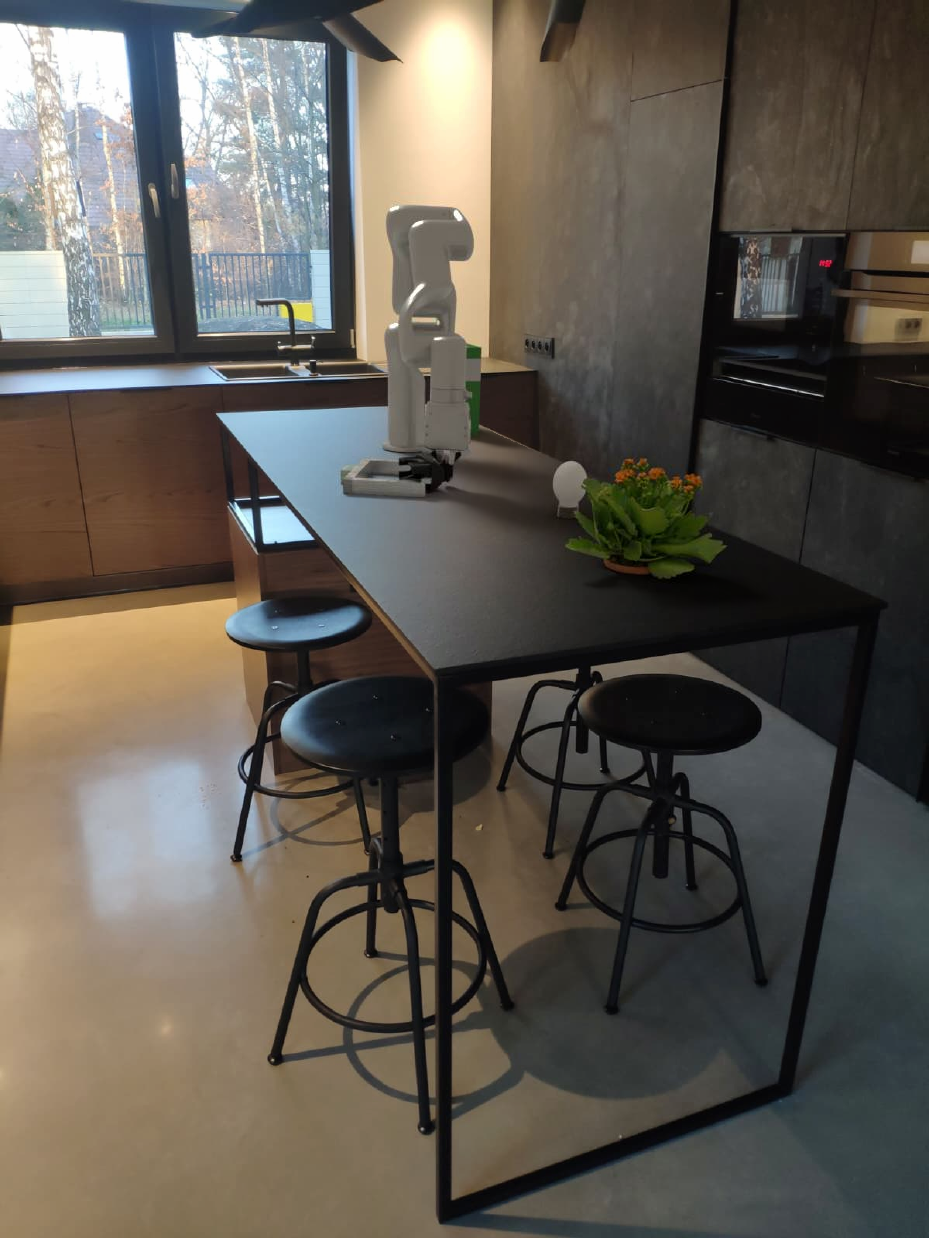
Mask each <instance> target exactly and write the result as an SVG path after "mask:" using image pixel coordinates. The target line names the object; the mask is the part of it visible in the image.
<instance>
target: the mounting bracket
mask: <svg viewBox="0 0 929 1238" xmlns="http://www.w3.org/2000/svg"><path fill="white" fill-rule="evenodd" d="M433 461H434V462H436V463H438V461H437V460H436V459H435V458H433ZM438 464H439V463H438ZM410 469H411V466H409V465H402V466H399V459H391V458H388V459H387V458H370V457H369V458H367V457H365V458H362V459H361V460H360V461H359V462H357V464H356V465H350V464H349V465H348V464H347V465H344V466H343V467H342V468H341V469H340V484H341V485H342V493H343V494H351V495H353V494H355V495H372V496H374V495H375V496H391V497H409V498H410V497H413V498H425V497H426V496H427V493H426V483H427V484H431V482H432V478H426V477H422V479H421V481H411V480H399V479H388V478H387V479H386V478H370V477H369V476H370V474H379V475H380V474H381V475H398V476H399V471H408V470H410ZM368 477H369V478H368Z"/></svg>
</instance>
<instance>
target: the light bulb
mask: <svg viewBox="0 0 929 1238" xmlns="http://www.w3.org/2000/svg"><path fill="white" fill-rule="evenodd" d="M586 478H588V476H587V473H586V470H585V469H584V467H583V466H582V465H581V464H580V463H579V462H576V461H574V460H569V461H565V462H563V463H562V464H560V465H559V466H558V467H557V469H556V471H555V472H554V475H553V478H552V479H553V480H552V489H553V492H554V496H555V497H556V499H557V500H558V506H557V517H558V518H563V519H577V518H576V515H575V514H574V511H577V512H579V502H580V501H582V499H583V498H584V497H585V496H584V495H585V494H586V492H587V491H585V490H584V489H583V488H582V487H581V485H583V486H584V487H585V486H586V485H584V484H583V481H584V479H586Z"/></svg>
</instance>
